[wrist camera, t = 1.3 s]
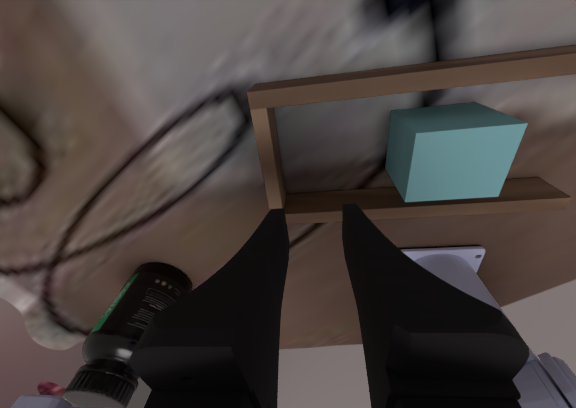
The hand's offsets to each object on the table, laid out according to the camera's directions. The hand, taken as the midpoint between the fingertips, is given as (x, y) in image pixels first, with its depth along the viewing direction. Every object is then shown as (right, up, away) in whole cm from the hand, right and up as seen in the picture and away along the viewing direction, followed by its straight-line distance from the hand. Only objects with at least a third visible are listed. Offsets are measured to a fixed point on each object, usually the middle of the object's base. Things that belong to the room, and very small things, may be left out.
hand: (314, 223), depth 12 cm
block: (+9, +6, +7) cm, 13 cm away
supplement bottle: (-16, -8, +18) cm, 26 cm away
